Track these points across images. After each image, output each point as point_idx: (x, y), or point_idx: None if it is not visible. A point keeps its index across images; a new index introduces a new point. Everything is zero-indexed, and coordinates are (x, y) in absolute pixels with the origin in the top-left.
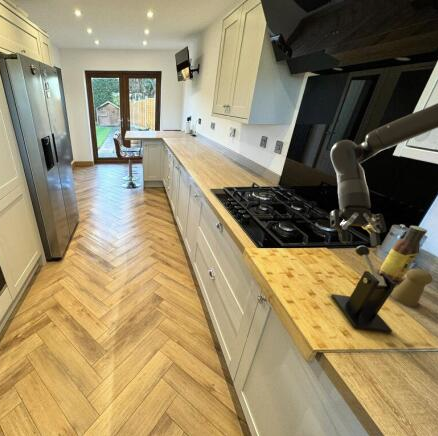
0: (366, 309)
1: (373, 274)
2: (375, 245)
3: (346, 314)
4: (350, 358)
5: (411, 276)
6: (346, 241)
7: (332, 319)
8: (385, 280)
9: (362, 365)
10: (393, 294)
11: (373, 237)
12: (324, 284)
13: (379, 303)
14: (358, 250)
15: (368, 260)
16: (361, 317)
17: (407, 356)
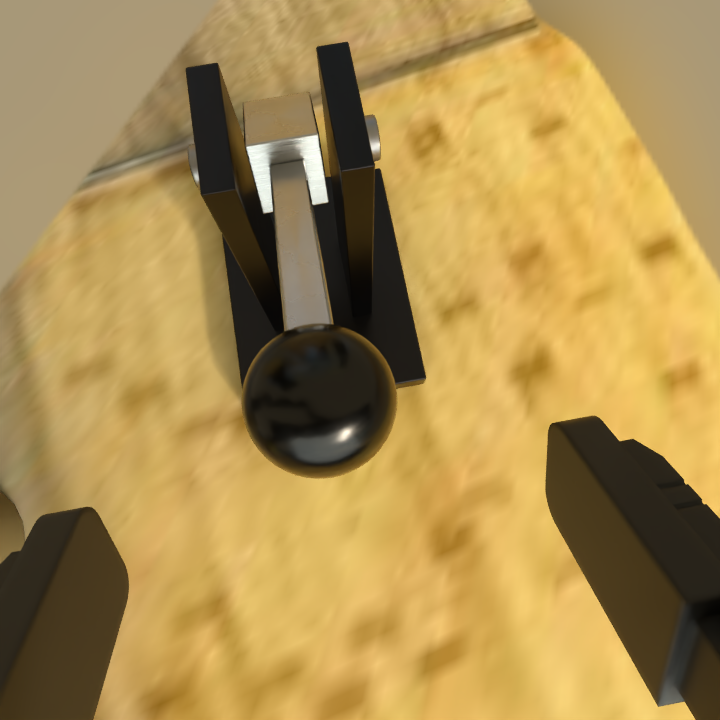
0: None
1: (303, 170)
2: (102, 522)
3: (394, 237)
4: (450, 24)
5: None
6: (574, 419)
7: (463, 200)
8: (232, 136)
9: (416, 11)
10: (10, 551)
11: (54, 676)
12: (430, 507)
13: None
14: (387, 363)
15: (302, 272)
16: (329, 231)
17: None
